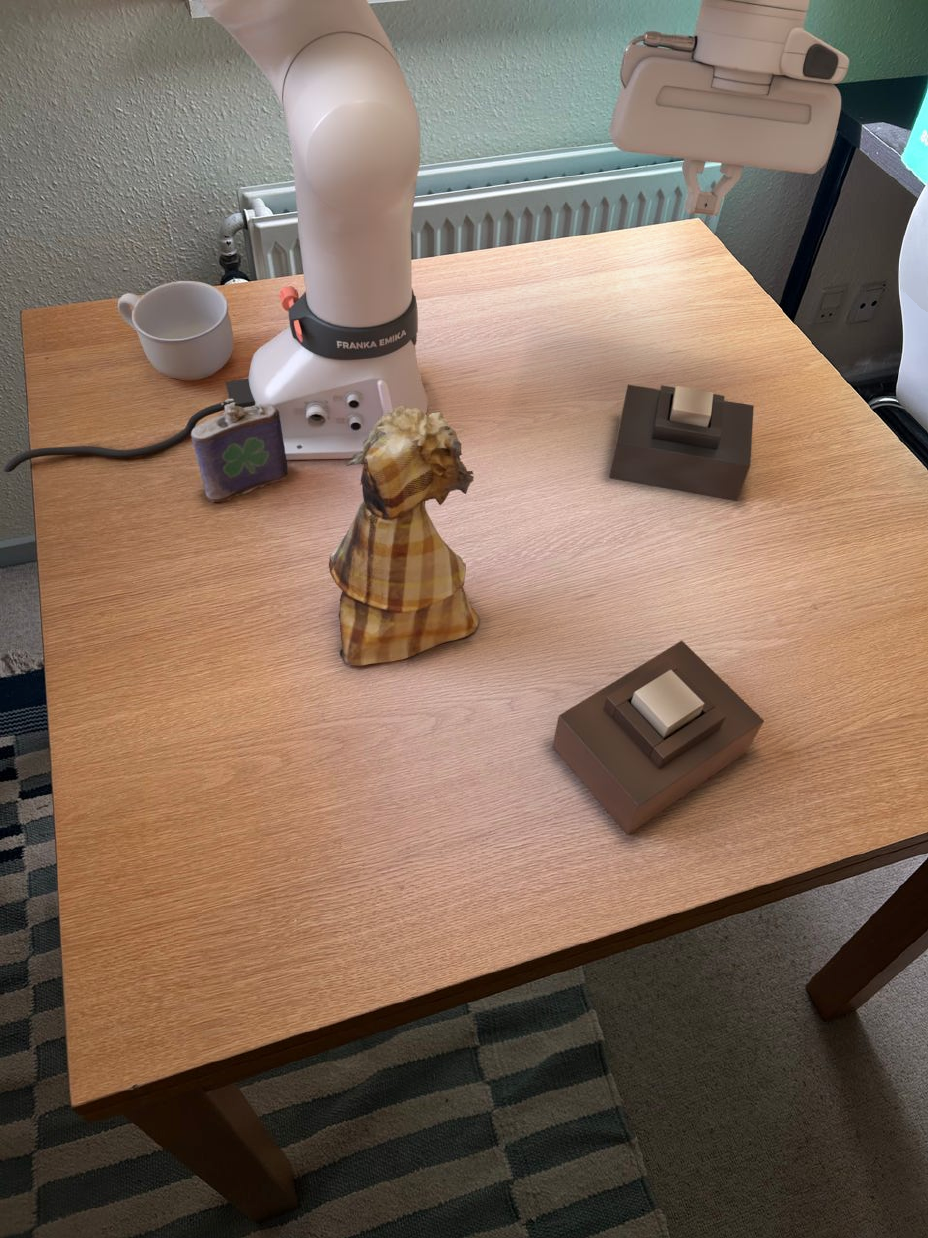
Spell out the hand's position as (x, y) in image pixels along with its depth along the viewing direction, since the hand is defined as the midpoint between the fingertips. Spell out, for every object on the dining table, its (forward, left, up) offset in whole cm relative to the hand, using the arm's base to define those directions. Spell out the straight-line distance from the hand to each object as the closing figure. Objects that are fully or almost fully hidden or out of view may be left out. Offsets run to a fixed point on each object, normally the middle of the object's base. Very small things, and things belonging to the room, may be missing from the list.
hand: (700, 212), depth 87 cm
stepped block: (0, -7, -25) cm, 26 cm away
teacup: (-52, +23, -25) cm, 62 cm away
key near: (-17, -41, -18) cm, 48 cm away
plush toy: (-35, -21, -25) cm, 48 cm away
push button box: (-17, -41, -25) cm, 51 cm away
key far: (0, -7, -18) cm, 20 cm away
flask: (-47, 0, -25) cm, 53 cm away
